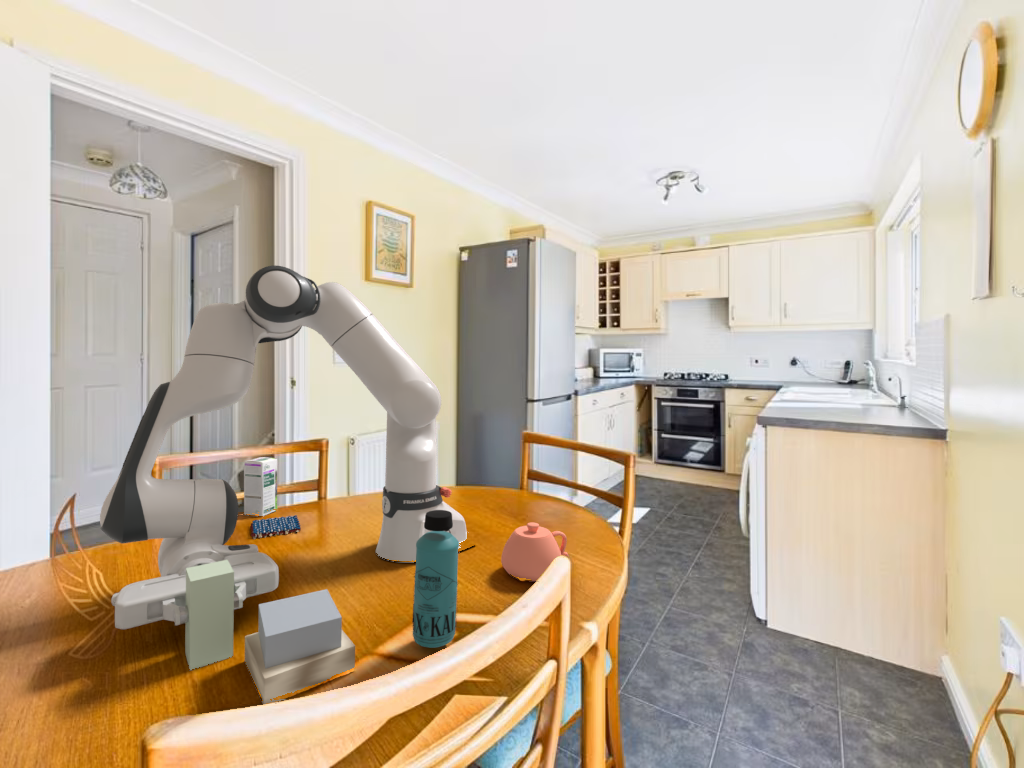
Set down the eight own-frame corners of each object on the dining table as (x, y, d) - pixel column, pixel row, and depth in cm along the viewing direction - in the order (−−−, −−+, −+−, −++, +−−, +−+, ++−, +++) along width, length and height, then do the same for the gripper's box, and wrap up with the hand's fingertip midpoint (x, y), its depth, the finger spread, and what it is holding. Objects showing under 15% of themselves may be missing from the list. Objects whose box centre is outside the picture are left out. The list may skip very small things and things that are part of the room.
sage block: (226, 639, 69) (227, 559, 69) (233, 656, 65) (234, 571, 65) (185, 652, 66) (186, 568, 66) (189, 670, 62) (190, 581, 62)
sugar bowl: (495, 563, 100) (497, 515, 99) (558, 559, 103) (560, 512, 102) (508, 590, 88) (510, 536, 87) (578, 584, 91) (581, 532, 91)
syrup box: (262, 517, 122) (263, 462, 122) (242, 515, 124) (243, 460, 123) (277, 510, 128) (278, 457, 127) (258, 508, 129) (259, 456, 129)
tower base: (326, 636, 72) (326, 611, 72) (354, 674, 63) (355, 645, 63) (244, 664, 65) (245, 636, 64) (264, 711, 56) (264, 678, 56)
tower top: (326, 615, 70) (327, 589, 70) (341, 646, 63) (341, 617, 63) (258, 632, 65) (258, 604, 65) (265, 668, 58) (265, 636, 58)
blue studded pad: (249, 527, 116) (250, 519, 116) (296, 521, 122) (297, 514, 122) (250, 541, 107) (250, 533, 107) (301, 535, 113) (301, 526, 113)
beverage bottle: (414, 633, 73) (417, 505, 72) (457, 632, 73) (461, 505, 72) (408, 659, 66) (412, 519, 65) (455, 658, 67) (460, 519, 66)
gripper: (111, 572, 68) (111, 612, 58) (266, 541, 82) (289, 569, 71) (111, 614, 69) (111, 662, 58) (265, 577, 82) (288, 610, 71)
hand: (210, 611), depth 65 cm, fingers closed on sage block, 5 cm apart
